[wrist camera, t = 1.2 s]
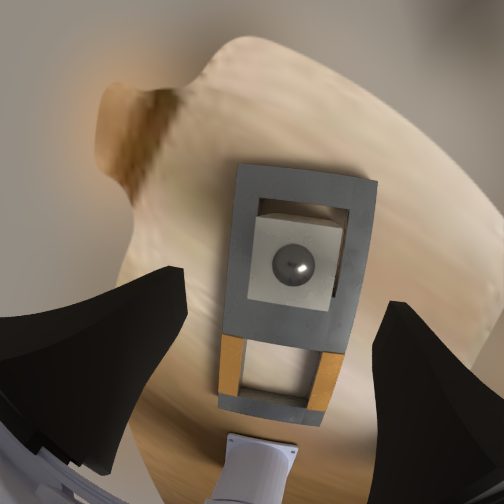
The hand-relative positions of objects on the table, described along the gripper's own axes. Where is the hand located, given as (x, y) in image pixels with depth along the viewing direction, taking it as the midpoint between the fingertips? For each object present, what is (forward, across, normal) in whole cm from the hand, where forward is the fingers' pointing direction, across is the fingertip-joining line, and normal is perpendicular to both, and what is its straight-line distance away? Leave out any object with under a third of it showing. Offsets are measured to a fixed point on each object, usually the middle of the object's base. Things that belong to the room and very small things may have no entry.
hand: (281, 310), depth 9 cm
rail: (+10, 0, +8) cm, 13 cm away
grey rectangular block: (+12, 0, +3) cm, 12 cm away
